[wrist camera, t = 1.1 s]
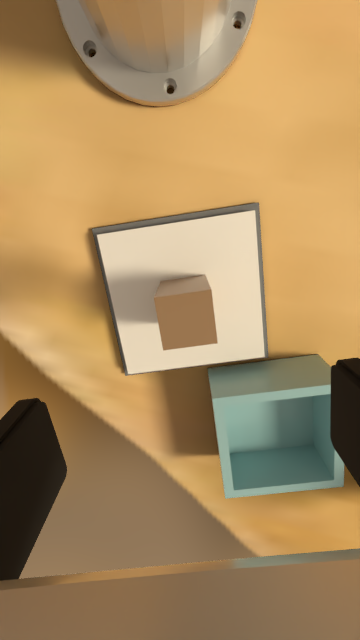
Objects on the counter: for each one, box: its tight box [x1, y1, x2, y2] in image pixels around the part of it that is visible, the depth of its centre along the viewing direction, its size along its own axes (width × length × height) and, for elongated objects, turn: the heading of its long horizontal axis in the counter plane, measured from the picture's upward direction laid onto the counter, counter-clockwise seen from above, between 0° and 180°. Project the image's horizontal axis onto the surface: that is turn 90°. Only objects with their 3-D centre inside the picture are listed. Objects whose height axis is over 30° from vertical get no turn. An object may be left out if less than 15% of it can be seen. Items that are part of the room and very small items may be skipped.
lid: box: [97, 210, 265, 374], centre depth 22 cm, size 12×12×6 cm
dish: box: [207, 354, 344, 498], centre depth 26 cm, size 10×10×5 cm
